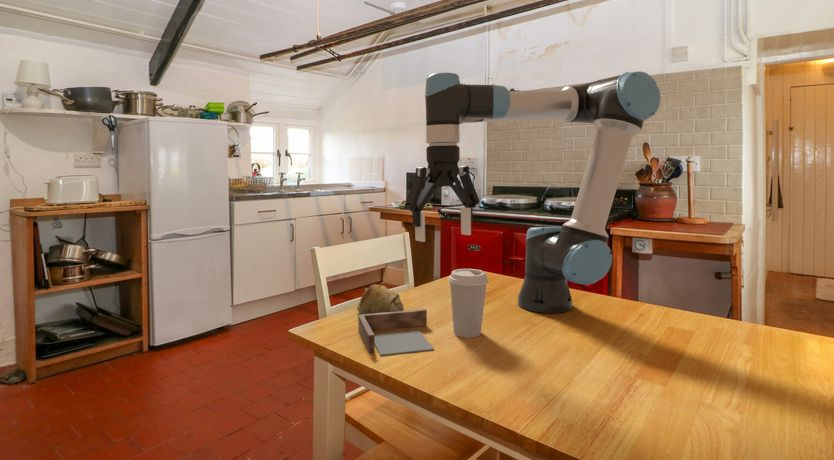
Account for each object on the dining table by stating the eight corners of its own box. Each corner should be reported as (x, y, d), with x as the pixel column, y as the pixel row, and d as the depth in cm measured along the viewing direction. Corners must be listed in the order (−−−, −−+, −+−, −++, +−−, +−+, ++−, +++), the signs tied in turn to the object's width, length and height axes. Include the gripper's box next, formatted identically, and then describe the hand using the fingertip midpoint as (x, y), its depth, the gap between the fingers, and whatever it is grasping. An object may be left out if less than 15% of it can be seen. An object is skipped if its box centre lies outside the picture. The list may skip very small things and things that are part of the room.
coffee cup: (486, 341, 109) (487, 278, 107) (444, 338, 111) (445, 275, 109) (488, 327, 119) (489, 269, 117) (450, 325, 120) (451, 267, 118)
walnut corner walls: (425, 324, 121) (425, 309, 120) (444, 345, 107) (444, 328, 106) (358, 330, 116) (358, 314, 116) (369, 353, 102) (368, 335, 102)
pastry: (350, 308, 134) (349, 280, 133) (390, 302, 140) (390, 276, 139) (368, 323, 122) (368, 293, 121) (412, 316, 128) (412, 287, 127)
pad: (418, 331, 116) (418, 330, 116) (434, 350, 104) (434, 348, 104) (370, 336, 112) (370, 335, 112) (380, 355, 101) (380, 354, 101)
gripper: (472, 145, 118) (472, 230, 121) (387, 145, 103) (389, 241, 106) (494, 144, 112) (493, 233, 115) (406, 144, 97) (408, 246, 100)
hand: (443, 237), depth 111 cm, fingers open, 13 cm apart
